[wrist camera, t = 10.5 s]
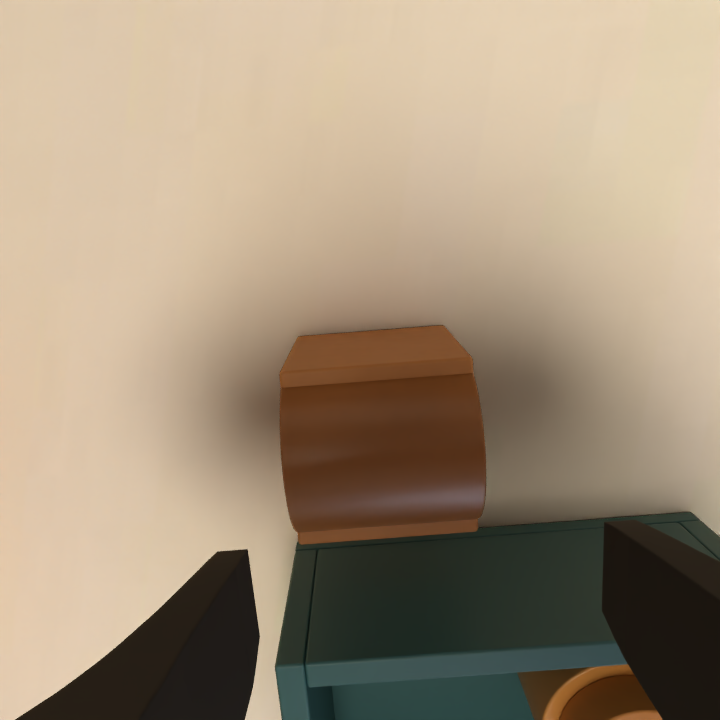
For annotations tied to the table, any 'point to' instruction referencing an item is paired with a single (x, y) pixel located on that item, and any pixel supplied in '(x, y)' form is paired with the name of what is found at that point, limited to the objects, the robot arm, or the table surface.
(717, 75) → the table surface
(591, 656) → the dark green open box
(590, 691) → the round bread
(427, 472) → the square bread
